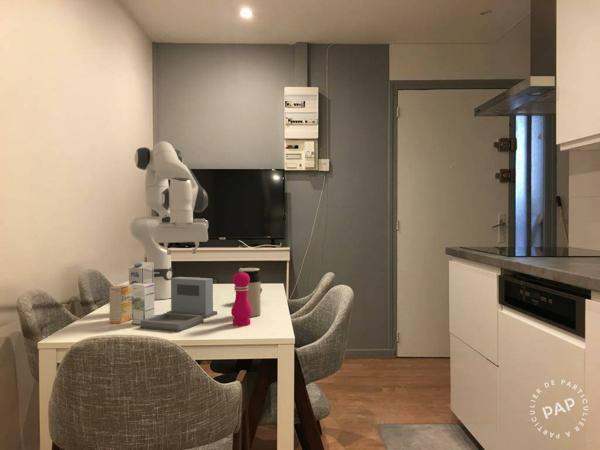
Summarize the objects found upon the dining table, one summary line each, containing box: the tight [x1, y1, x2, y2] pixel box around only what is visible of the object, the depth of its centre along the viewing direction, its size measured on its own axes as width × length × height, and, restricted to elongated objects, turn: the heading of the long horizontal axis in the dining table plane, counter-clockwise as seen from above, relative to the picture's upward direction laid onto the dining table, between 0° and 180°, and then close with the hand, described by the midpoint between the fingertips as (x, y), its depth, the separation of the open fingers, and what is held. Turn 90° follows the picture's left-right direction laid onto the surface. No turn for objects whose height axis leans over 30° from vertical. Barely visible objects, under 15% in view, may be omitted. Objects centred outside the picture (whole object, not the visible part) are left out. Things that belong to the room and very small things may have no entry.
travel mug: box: [243, 267, 262, 318], centre depth 169 cm, size 8×8×18 cm
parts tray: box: [140, 312, 204, 333], centre depth 153 cm, size 16×14×2 cm
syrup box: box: [131, 282, 156, 326], centre depth 157 cm, size 6×6×14 cm
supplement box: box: [108, 283, 132, 324], centre depth 161 cm, size 8×5×13 cm, turn 168°
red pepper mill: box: [230, 267, 252, 327], centre depth 155 cm, size 7×7×20 cm
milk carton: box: [128, 261, 154, 285], centre depth 177 cm, size 7×7×20 cm
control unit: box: [166, 276, 218, 320], centre depth 171 cm, size 18×8×14 cm, turn 68°
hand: (181, 254), depth 170 cm, fingers open, 8 cm apart
